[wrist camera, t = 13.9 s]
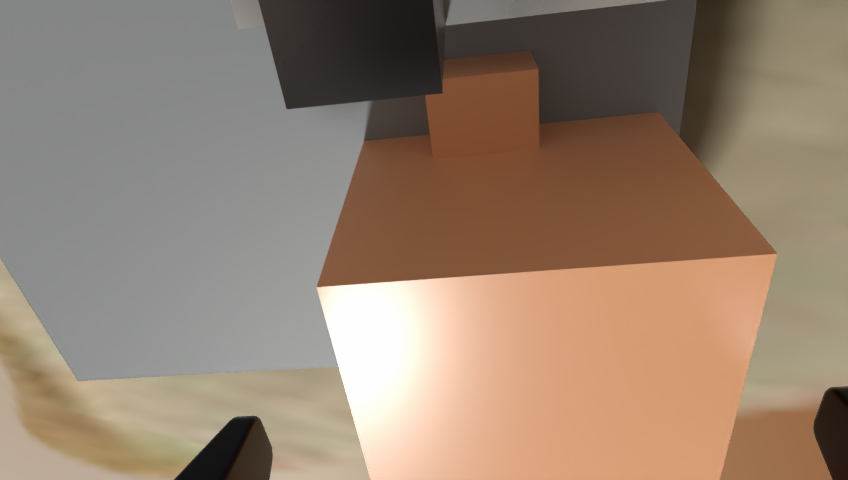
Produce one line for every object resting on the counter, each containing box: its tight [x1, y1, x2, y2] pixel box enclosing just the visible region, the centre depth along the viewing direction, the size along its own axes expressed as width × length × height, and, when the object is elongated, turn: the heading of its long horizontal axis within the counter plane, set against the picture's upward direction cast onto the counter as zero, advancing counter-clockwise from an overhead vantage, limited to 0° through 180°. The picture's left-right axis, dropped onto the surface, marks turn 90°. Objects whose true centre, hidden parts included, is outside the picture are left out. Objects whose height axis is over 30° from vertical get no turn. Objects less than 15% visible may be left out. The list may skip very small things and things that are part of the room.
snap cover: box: [317, 50, 777, 480], centre depth 11 cm, size 6×8×5 cm
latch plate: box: [0, 0, 697, 381], centre depth 12 cm, size 16×13×2 cm
